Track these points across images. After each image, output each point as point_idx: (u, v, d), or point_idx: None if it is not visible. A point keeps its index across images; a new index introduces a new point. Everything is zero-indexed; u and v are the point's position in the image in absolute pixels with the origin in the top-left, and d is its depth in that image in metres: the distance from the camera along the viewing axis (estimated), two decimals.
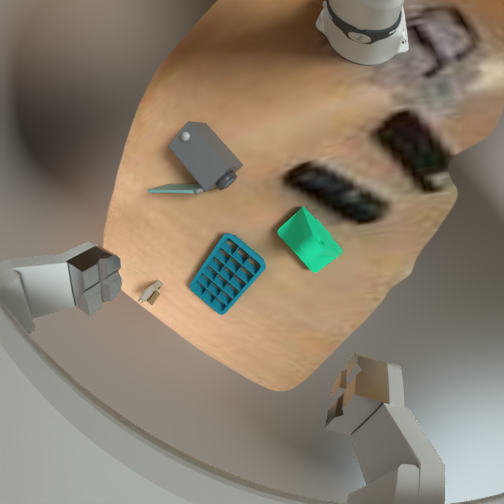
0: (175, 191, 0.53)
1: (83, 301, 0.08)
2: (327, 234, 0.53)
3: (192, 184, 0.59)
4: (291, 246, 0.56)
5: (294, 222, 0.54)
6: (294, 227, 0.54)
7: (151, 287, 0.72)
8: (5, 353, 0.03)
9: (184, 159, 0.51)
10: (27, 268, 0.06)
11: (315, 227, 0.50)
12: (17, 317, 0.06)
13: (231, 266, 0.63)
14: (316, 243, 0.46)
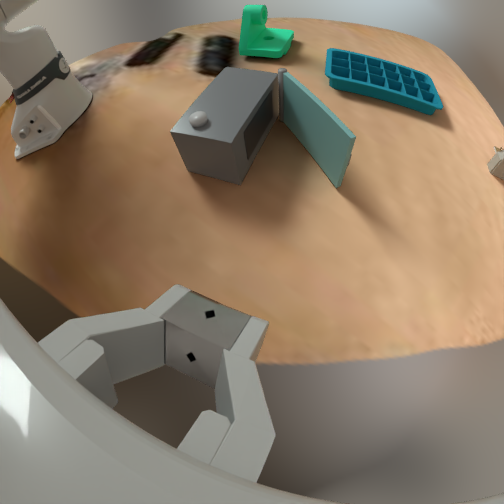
0: (307, 91, 0.24)
1: (183, 362, 0.07)
2: None
3: (302, 138, 0.30)
4: (283, 42, 0.38)
5: (258, 47, 0.38)
6: (263, 45, 0.38)
7: (502, 157, 0.25)
8: (5, 353, 0.03)
9: (243, 108, 0.25)
10: (109, 333, 0.05)
11: None
12: (100, 397, 0.05)
13: None
14: (246, 5, 0.33)
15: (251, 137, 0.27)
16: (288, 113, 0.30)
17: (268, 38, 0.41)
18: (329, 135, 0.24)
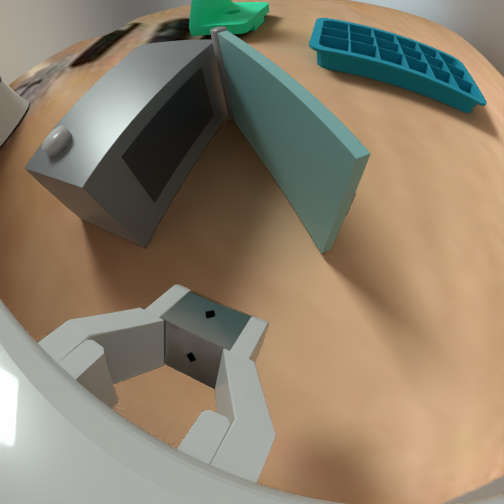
0: (255, 54, 0.10)
1: (183, 362, 0.07)
2: None
3: (261, 152, 0.17)
4: (251, 14, 0.25)
5: (215, 22, 0.25)
6: (222, 20, 0.25)
7: None
8: (5, 353, 0.03)
9: (130, 107, 0.12)
10: (109, 333, 0.05)
11: None
12: (100, 397, 0.05)
13: None
14: None
15: (153, 160, 0.14)
16: (237, 107, 0.17)
17: (233, 13, 0.27)
18: (303, 147, 0.11)
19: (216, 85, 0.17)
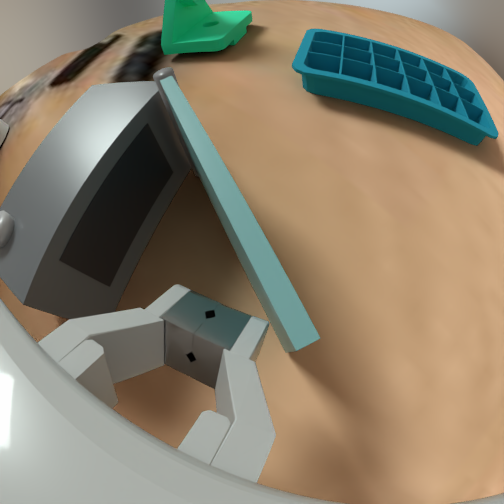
0: (192, 125, 0.08)
1: (182, 361, 0.07)
2: None
3: (223, 226, 0.15)
4: (230, 26, 0.23)
5: (189, 38, 0.23)
6: (197, 35, 0.23)
7: None
8: (5, 353, 0.03)
9: (62, 195, 0.10)
10: (109, 333, 0.05)
11: None
12: (100, 397, 0.05)
13: None
14: None
15: (98, 249, 0.12)
16: (195, 167, 0.15)
17: (212, 25, 0.26)
18: (250, 272, 0.09)
19: (173, 137, 0.15)
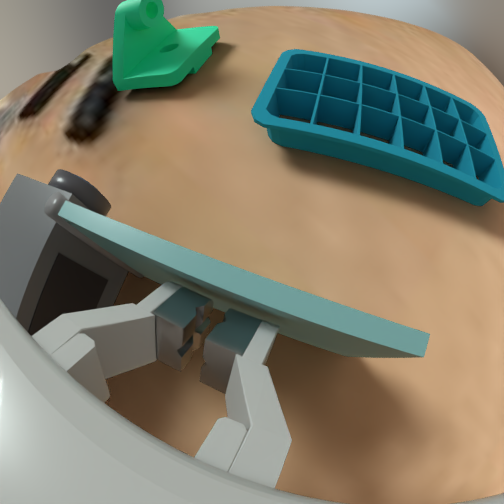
0: (148, 244, 0.07)
1: (174, 357, 0.07)
2: None
3: None
4: (189, 51, 0.21)
5: (142, 71, 0.21)
6: (151, 66, 0.21)
7: None
8: (5, 353, 0.03)
9: None
10: (100, 327, 0.05)
11: None
12: (92, 390, 0.05)
13: None
14: (123, 2, 0.16)
15: None
16: (143, 272, 0.13)
17: (172, 48, 0.23)
18: (310, 332, 0.08)
19: None
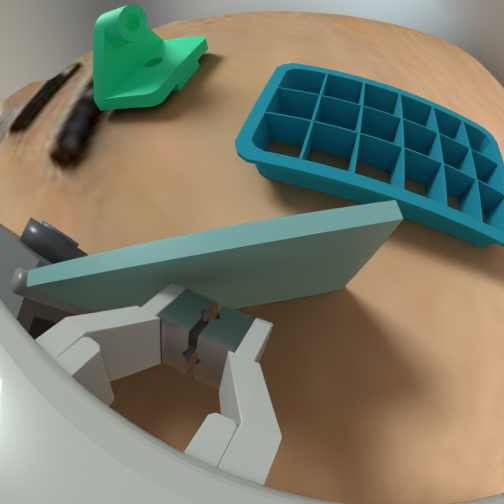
0: (122, 257, 0.07)
1: (179, 360, 0.07)
2: None
3: None
4: (172, 67, 0.20)
5: (123, 89, 0.20)
6: (132, 84, 0.20)
7: None
8: (5, 353, 0.03)
9: None
10: (105, 331, 0.05)
11: None
12: (97, 394, 0.05)
13: (356, 131, 0.16)
14: None
15: None
16: None
17: (156, 61, 0.22)
18: (299, 265, 0.09)
19: None
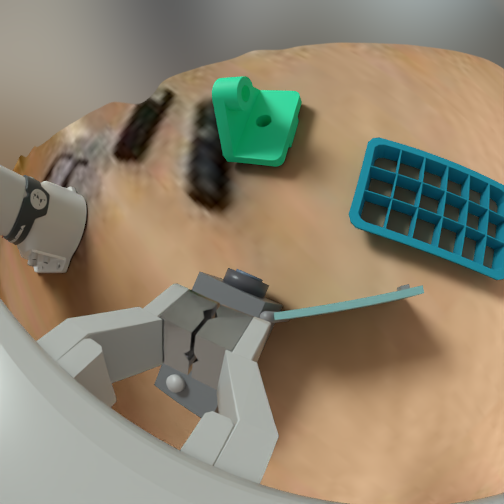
0: (329, 307, 0.20)
1: (181, 361, 0.07)
2: None
3: None
4: (284, 131, 0.31)
5: (248, 150, 0.32)
6: (255, 145, 0.32)
7: None
8: (5, 353, 0.03)
9: None
10: (107, 332, 0.05)
11: None
12: (99, 395, 0.05)
13: (416, 200, 0.25)
14: (215, 84, 0.27)
15: None
16: None
17: (264, 117, 0.34)
18: None
19: None
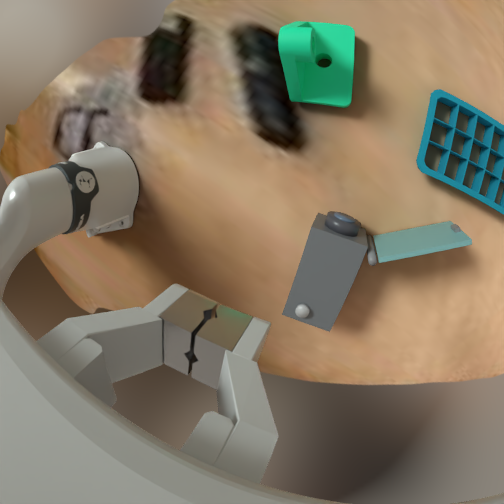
0: (414, 253, 0.26)
1: (181, 361, 0.07)
2: None
3: None
4: (349, 74, 0.26)
5: (316, 93, 0.29)
6: (322, 89, 0.28)
7: None
8: (5, 353, 0.03)
9: (337, 300, 0.33)
10: (107, 332, 0.05)
11: None
12: (99, 395, 0.05)
13: (466, 150, 0.25)
14: (281, 39, 0.21)
15: None
16: None
17: (321, 54, 0.27)
18: None
19: None
